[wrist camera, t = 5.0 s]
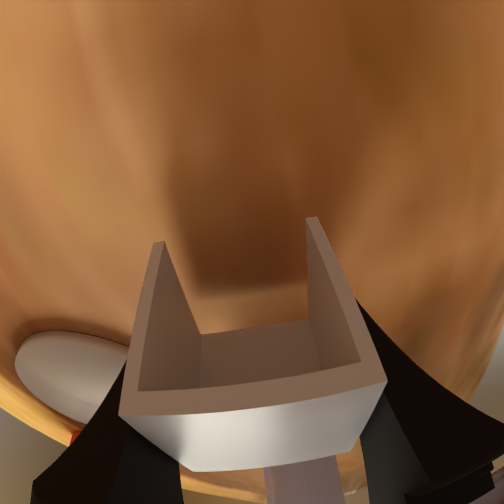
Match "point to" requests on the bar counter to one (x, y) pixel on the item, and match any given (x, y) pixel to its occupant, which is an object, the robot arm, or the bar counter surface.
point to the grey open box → (251, 374)
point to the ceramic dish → (70, 370)
